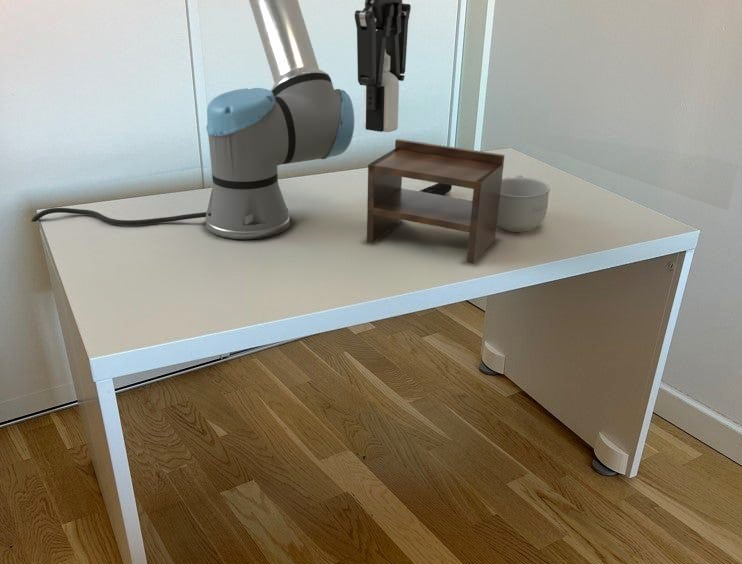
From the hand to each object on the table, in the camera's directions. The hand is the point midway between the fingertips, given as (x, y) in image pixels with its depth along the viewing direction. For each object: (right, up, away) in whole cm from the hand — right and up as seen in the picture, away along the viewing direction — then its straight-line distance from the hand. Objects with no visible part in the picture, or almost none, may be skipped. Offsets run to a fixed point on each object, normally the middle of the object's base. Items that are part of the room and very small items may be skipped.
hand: (381, 126), depth 118 cm
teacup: (+26, -10, +26) cm, 38 cm away
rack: (+9, -15, +18) cm, 25 cm away
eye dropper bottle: (0, 0, 0) cm, 1 cm away
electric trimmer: (+10, -4, +36) cm, 37 cm away
